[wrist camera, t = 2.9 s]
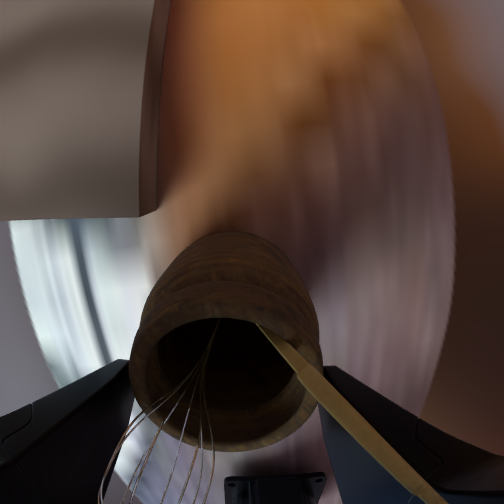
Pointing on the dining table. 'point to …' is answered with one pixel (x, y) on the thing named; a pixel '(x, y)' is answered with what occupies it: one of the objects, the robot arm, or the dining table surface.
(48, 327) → the dining table surface
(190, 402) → the utensil holder
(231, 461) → the dining table surface
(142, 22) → the walnut plinth
